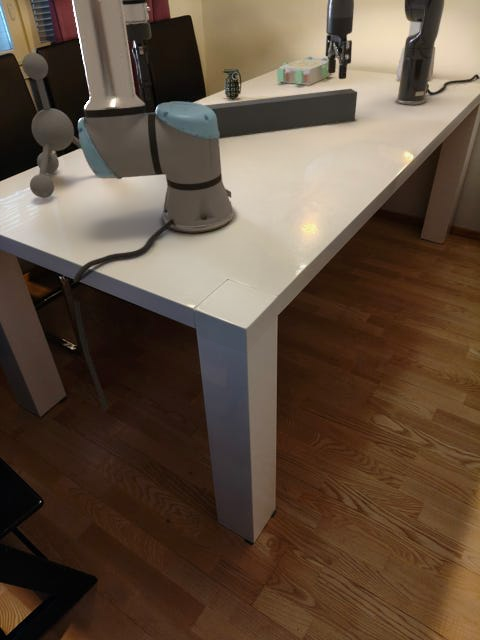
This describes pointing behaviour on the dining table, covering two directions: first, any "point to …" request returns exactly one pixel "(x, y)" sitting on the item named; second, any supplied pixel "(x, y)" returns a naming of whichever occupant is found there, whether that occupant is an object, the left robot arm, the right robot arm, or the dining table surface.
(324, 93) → the bar
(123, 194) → the dining table surface
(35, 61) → the molecular model
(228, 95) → the grenade
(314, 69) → the decorative block
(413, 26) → the electronic device
